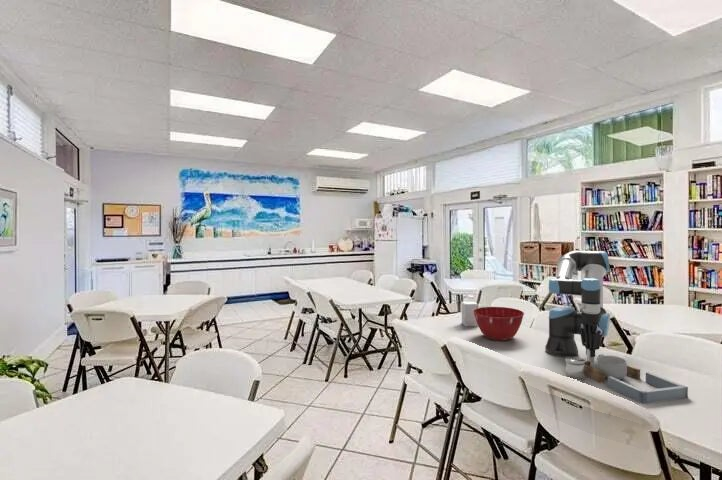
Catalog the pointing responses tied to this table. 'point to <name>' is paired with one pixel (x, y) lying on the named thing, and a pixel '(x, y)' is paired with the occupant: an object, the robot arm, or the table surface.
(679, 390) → the dock
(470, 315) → the supplement box
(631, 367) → the wooden u-shaped bracket
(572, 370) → the sugar tin
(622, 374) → the teacup
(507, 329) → the mixing bowl
